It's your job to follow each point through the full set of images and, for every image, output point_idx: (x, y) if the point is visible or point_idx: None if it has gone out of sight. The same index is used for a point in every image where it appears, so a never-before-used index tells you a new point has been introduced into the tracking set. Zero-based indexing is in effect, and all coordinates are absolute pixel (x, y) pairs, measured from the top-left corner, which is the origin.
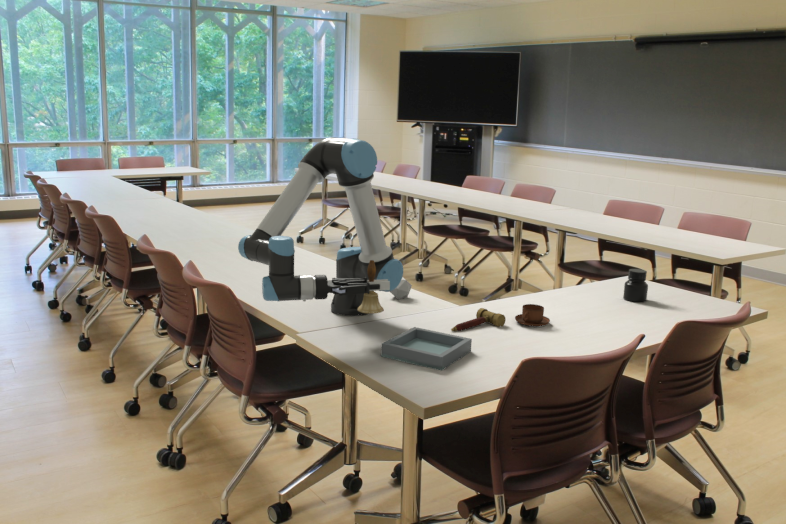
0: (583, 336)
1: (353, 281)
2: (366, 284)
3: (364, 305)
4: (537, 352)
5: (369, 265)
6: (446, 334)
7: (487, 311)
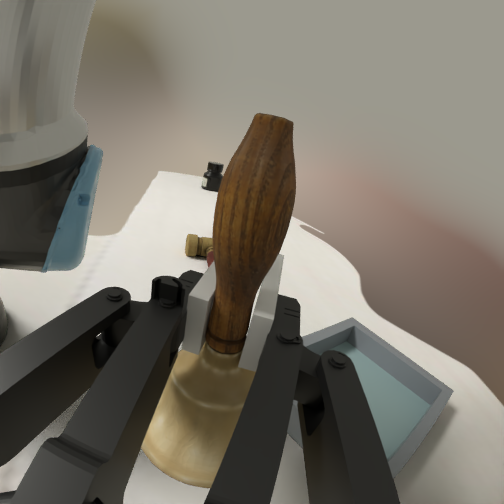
0: (297, 242)
1: (144, 391)
2: (342, 361)
3: None
4: (349, 288)
5: (279, 164)
6: (323, 334)
7: (205, 238)
